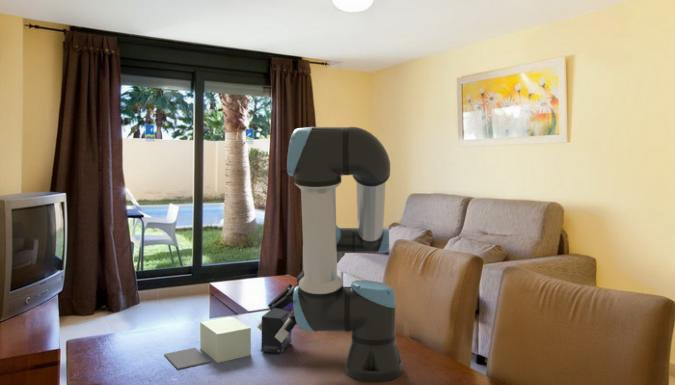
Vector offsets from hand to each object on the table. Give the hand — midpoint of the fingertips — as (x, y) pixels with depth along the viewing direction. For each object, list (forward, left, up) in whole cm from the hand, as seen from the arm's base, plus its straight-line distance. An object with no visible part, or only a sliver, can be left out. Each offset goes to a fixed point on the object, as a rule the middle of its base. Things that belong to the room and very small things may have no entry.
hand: (268, 334), depth 145 cm
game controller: (+27, -24, -5) cm, 37 cm away
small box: (0, -3, -5) cm, 5 cm away
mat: (+7, +22, -5) cm, 24 cm away
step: (+6, +11, -5) cm, 14 cm away
